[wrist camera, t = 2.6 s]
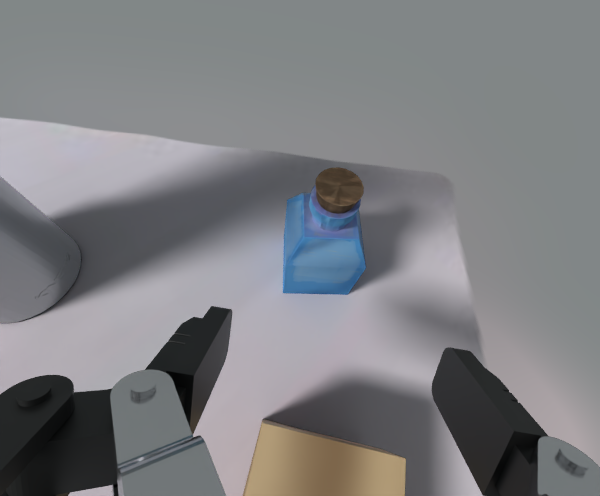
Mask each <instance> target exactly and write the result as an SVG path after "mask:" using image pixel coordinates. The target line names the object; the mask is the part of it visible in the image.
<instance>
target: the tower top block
mask: <svg viewBox="0 0 600 496" xmlns="http://www.w3.org/2000/svg"><path fill="white" fill-rule="evenodd" d="M405 471H406V458H403V457H401V456H398V455H395V454H393V453H390V452H388V451H385V450H382V449H379V448H375V447H371V446H367V445H363V444H359V443H355V442H351V441H347V440H343V439H339V438H335V437H330V436H326V435H322V434H318V433H314V432H310V431H306V430H302V429H298V428H294V427H290V426H286V425H282V424H278V423H274V422H270V421H266V420H263V422H262V426H261V430H260V435H259V439H258V443H257V447H256V451H255V456H254V460H253V464H252V468H251V472H250V476H249V481H248V485H247V489H246V493H245V496H405Z"/></svg>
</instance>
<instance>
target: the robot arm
mask: <svg viewBox="0 0 600 496" xmlns="http://www.w3.org/2000/svg"><path fill="white" fill-rule="evenodd" d="M80 266H81V254H80V250H79V247H78V245H77V244H76V242H75V241H74V240H73V239H72V238H71V237H70V236H69V235H68V234H66V233H65V232H64V231H63V230H62V229H61V228H60V227H58V226H57V225H56V224H55V223H54V222H53V221H51V220H50V219H49V218H48V217H47V216H46V215H45V214H44V213H43V212H41V211H40V210H39V209H38V208H37V207H36V206H34V205H33V204H32V203H31V202H30V201H29V200H27V199H26V198H25V197H24V196H23V195H22V194H20V193H19V192H18V191H17V190H16V189H15V188H13V187H12V186H11V185H10V184H9V183H8V182H6V181H5V180H4V179H3V178H2V177H1V176H0V324H6V323H13V322H18V321H22V320H25V319H28V318H31V317H33V316H35V315H37V314H39V313H41V312H43V311H45V310H46V309H48V308H49V307H51V306H52V305H54V304H55V303H56V302H57V301H59V300H60V299H61V298H62V297H63V296H64V295H65V294H66V293H67V291H68V290H69V289H70V288H71V286H72V285H73V283H74V282H75V280H76V278H77V276H78V273H79V270H80ZM231 320H232V310H231V309H226V308H220V307H214V306H211V307H210V309H209V310H208V312H207V313H206V314H205V316H204V317H203V319H202V318H197V317H193V318H191V319H190V320H188V321H186V322H184V323H182V324H181V326H180V327H179V328H178V329H177V331H176V332H175V334H173V336H172V337H171V338H170V339H169V341H168V342H167V343H166V344H165V345H164V347H163V348H162V349H161V350H160V352H159V353H158V354H157V355H156V357H155V358H154V359H153V360H152V362H151V363H150V364H149V365H148V367H147V368H146V369H145V370H142V371H137V372H134V373H132V374H129V375H127V376H125V377H124V378H122V379H121V380H120V381H119V382H117V383H116V385H115V386H114V387H113V389H108V390H99V391H87V392H75V393H74V387H73V383H72V381H71V380H70V379H68V378H67V377H64V376H60V375H45V376H39V377H35V378H31V379H28V380H25V381H23V382H20V383H18V384H16V385H14V386H12V387H11V388H9V389H7V390H6V391H5V392H3V393H2V394H1V395H0V496H68V494H69V493H70V492H75V491H81V490H86V489H92V488H97V487H103V486H109V485H112V493H113V496H226V494H225V492H224V489H223V487H222V484H221V482H220V479H219V476H218V474H217V471H216V469H215V466H214V464H213V461H212V458H211V456H210V453H209V451H208V448H207V446H206V443H205V441H204V439H203V438H202V437H201V436H196V437H193V433H194V431H195V429H196V426H197V424H198V422H199V419H200V417H201V415H202V413H203V410H204V408H205V406H206V403H207V401H208V399H209V397H210V394H211V392H212V390H213V387H214V385H215V383H216V381H217V378H218V376H219V374H220V371H221V369H222V367H223V365H224V362H225V359H226V356H227V351H228V346H229V337H230V329H231ZM432 395H433V399H434V401H435V403H436V405H437V407H438V409H439V411H440V413H441V415H442V417H443V419H444V421H445V422H446V424H447V426H448V428H449V430H450V432H451V434H452V436H453V438H454V440H455V442H456V444H457V446H458V448H459V450H460V452H461V454H462V456H463V458H464V459H465V461H466V463H467V465H468V467H469V469H470V471H471V473H472V475H473V477H474V479H475V481H476V483H477V485H478V487H479V489H480V491H481V493H482V494H483V496H600V467H599V466H598V465H597V464H596V463H595V462H594V461H593V460H592V459H591V458H589V457H588V456H587V455H586V454H584V453H583V452H582V451H580V450H579V449H577V448H576V447H574V446H572V445H570V444H569V443H566V442H564V441H562V440H560V439H557V438H553V437H549V436H548V435H547V434H546V433H545V432H544V430H543V429H542V428H541V427H540V426H539V425H538V424H537V422H536V421H535V420H534V419H533V418H532V417H531V415H530V414H529V413H528V412H527V411H526V410H525V408H523V406H522V405H521V404H520V403H518V401H517V399H516V398H515V397H514V396H513V395H512V393H509V390H508V389H507V388H506V387H505V385H504V384H503V383H502V382H501V381H500V380H499V379H498V378H497V377H496V376H495V375H493V374H492V373H491V372H490V371H488V370H487V369H486V368H484V367H483V365H482V364H481V363H480V362H479V361H478V359H477V358H476V357H475V356H474V355H473V354H472V353H471V352H470V351H467V350H461V349H455V348H446V349H445V350H444V352H443V354H442V357H441V360H440V363H439V365H438V368H437V371H436V374H435V376H434V379H433V383H432Z"/></svg>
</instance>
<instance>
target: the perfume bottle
mask: <svg viewBox="0 0 600 496" xmlns="http://www.w3.org/2000/svg"><path fill="white" fill-rule="evenodd" d="M363 189H364V187H363V184H362V181H361V180H360V179H359V177H358V176H357V175H356V174H354V173H353V172H351V171H349V170H347V169H344V168H329V169H326V170H324V171H322V172H321V173H320V174H319V175H318V177H317V178H316V183H315V186H314V187H313V189H312V191H311V193H301V194H299V195H297V196H295V197H293V198H291V199H288V200H287V209H286V220H285V232H284V265H283V293H302V294H345V295H347V294H348V293H349V292H350V290H351V289H352V287H353V286H354V285H355V283H356V282H357V280H358V279H359V277H360V276H361V275H362V273H363V272H364V270H365V269H366V264H365V256H364V248H363V240H362V232H361V224H360V216H359V207H360V201H361V197H362V195H363Z"/></svg>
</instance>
